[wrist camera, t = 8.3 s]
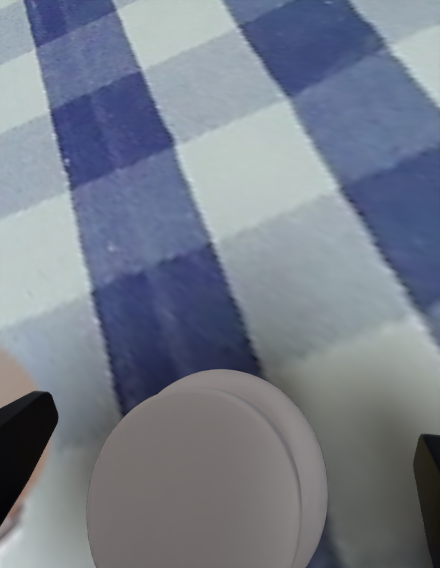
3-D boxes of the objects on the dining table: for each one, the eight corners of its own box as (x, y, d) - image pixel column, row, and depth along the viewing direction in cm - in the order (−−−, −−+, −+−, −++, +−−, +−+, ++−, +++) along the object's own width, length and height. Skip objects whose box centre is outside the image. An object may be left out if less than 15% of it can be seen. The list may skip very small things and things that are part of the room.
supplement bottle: (336, 504, 14) (409, 666, 5) (207, 542, 14) (61, 755, 5) (287, 370, 16) (276, 315, 7) (176, 408, 17) (33, 399, 8)
